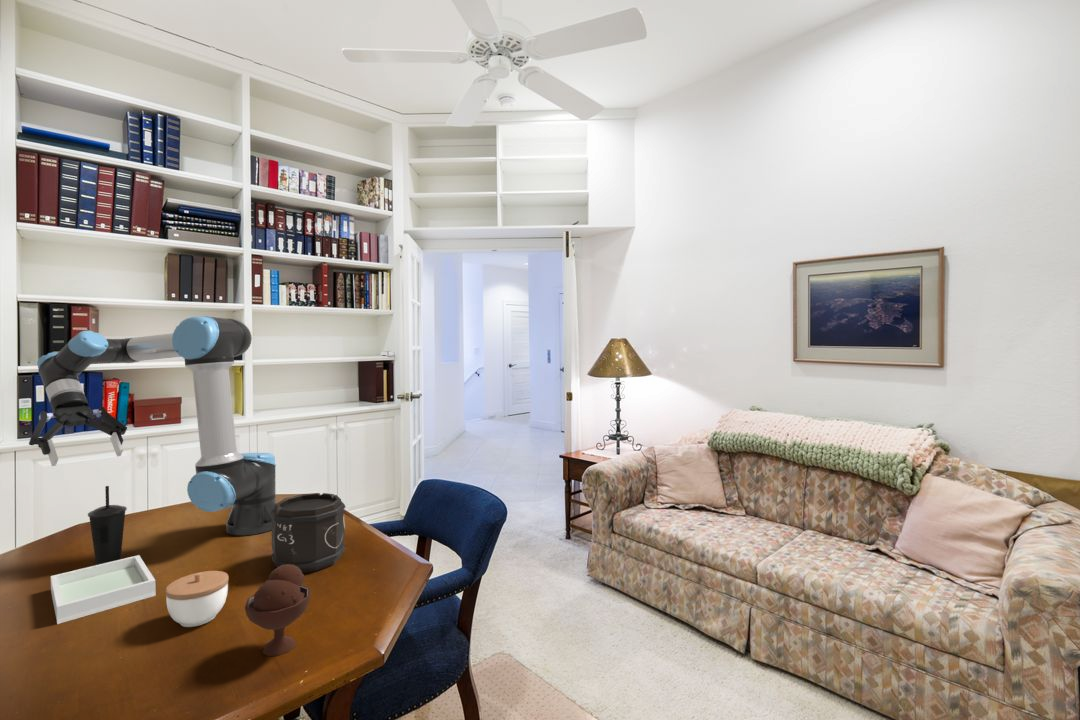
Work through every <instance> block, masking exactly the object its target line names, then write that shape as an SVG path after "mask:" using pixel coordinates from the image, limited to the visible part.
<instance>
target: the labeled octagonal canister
mask: <svg viewBox="0 0 1080 720" xmlns="http://www.w3.org/2000/svg"><path fill="white" fill-rule="evenodd" d="M344 509H346V504H345V503H344V502H343V501H342V499H341V498H340V497H339V496H338V495H337V494H334V493H327V492H324V493H322V494H321V493H320V492H314V493H302V494H298V495H294V496H291V497H286V498H285V497H284V498H283V499H282V500H280V501H278V502H277V504H275V507H274V509H273V510H272V511H271V516H272V524H271V526H272V530H271V550H272V553H271V555H270V557H271V560H272V561H273V564H274V567H276V568H277V567H279V566H281V565H286V564H291V565H295V566H297V567H298V568H299V569H300V570H301V571H302V574H305V573H307V574H308V573H313V572H314V573H315V572H318V571H320V570H323V569H326V568H328V567H331V566H334V565H335V564H336V563H337V562H338V561H339V560H340V559H341V557H342V556H343V553H344V552H345V551H346V547H347V546H346V545H345V536H346V535H345V534H346V528H345V527H346V520H345V514H344V513H345V512H344Z"/></svg>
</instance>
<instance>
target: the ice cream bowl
mask: <svg viewBox="0 0 1080 720" xmlns="http://www.w3.org/2000/svg"><path fill="white" fill-rule="evenodd" d="M305 578H306V576H305V575H304V573H302V571H301V570H300V569H299V568H298V567H297V566H295V565H291V564H286V565H281V566H279V567H277V566H276V568H274V569H273V570H272V571H271V572H270V573H269V575H268V579H267V580H265V582H263V583H262V584H261V586H259V588H258V589H257V590H256V591H255V592H254V594H253V595H251V596H250V597H248V598H247V600H246V603H245V606H244V611H245V615H246V617H247V618H248V620H249V621H250V622H252V623H253V624H254V625H256V626H258V627H260V628H262V629H265V630H270V631H273V634H274V635H273V638H272V639H271V640H270V641H268V642H266V644H264V647H263V650H262V654H263V655H264V656H266V657H279V656H282V655H284V654H287V653H289V652H290V651H292V650H293V649H294V648H295V647H296V639H295V638H293V637H291V636H289V635H288V636H287V635H285V629H286V627H288V626H290V625H291V624H292V623H294V622H295V621H296V620H297V619H299V618H300V617H301V616H302V615H303V614H304V613H305V612H306V610H307V607H308V606H309V603H310V599H311V598H310V597H311V587H308V586H305V585H303V582H304V580H305Z"/></svg>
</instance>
